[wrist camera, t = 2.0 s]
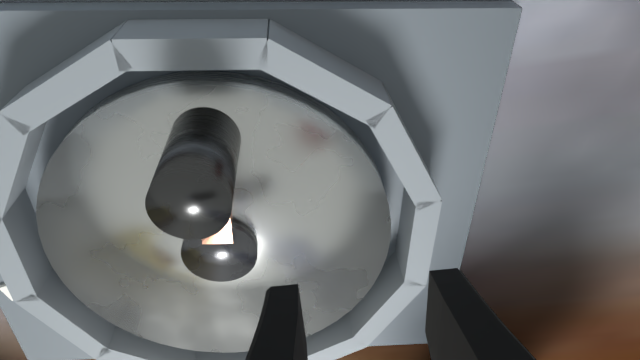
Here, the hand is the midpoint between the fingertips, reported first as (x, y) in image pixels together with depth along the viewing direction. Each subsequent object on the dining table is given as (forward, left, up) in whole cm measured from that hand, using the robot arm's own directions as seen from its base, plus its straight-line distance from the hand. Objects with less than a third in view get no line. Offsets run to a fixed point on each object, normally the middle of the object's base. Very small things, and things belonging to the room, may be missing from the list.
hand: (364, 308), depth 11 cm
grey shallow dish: (-5, +4, -10) cm, 12 cm away
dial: (-5, +5, -9) cm, 11 cm away
